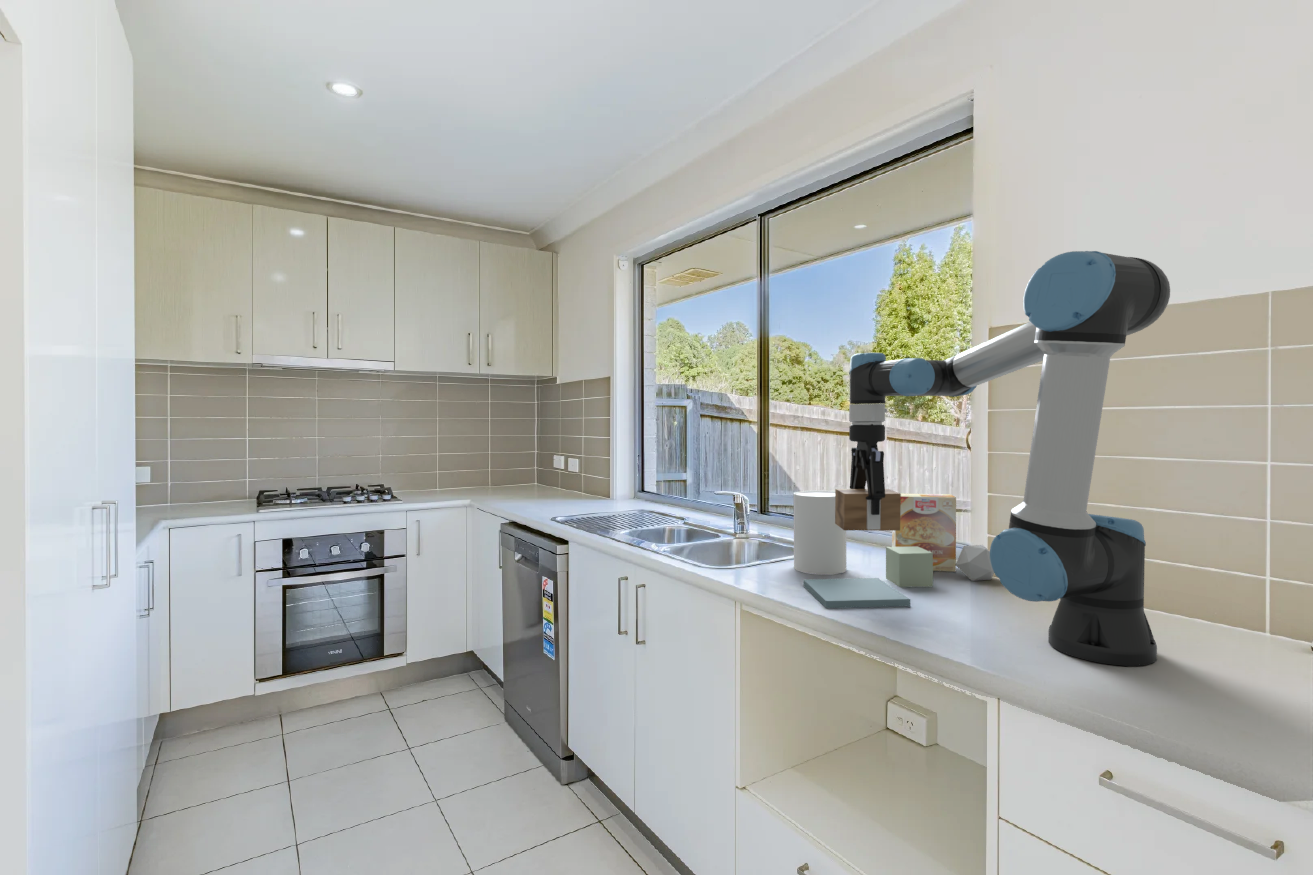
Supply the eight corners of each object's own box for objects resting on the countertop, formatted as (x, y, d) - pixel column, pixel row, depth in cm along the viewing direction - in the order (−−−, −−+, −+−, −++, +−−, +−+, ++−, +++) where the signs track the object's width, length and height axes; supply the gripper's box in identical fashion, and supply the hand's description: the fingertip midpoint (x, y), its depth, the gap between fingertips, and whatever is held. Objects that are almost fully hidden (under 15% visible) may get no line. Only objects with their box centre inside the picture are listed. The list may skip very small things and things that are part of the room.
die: (1000, 587, 150) (1010, 550, 154) (966, 569, 150) (977, 532, 154) (976, 591, 158) (986, 556, 162) (945, 574, 158) (956, 539, 162)
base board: (910, 606, 134) (910, 599, 134) (826, 608, 134) (826, 600, 134) (877, 584, 152) (877, 577, 152) (803, 585, 152) (803, 579, 152)
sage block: (932, 586, 150) (932, 553, 150) (899, 587, 150) (899, 553, 149) (917, 578, 158) (917, 546, 158) (885, 578, 158) (885, 546, 157)
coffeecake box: (895, 570, 166) (894, 495, 166) (891, 563, 173) (891, 492, 173) (956, 572, 163) (956, 496, 162) (950, 565, 170) (950, 493, 169)
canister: (836, 561, 176) (835, 490, 176) (854, 573, 163) (853, 496, 162) (788, 563, 175) (787, 491, 175) (802, 575, 162) (801, 497, 161)
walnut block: (900, 530, 137) (900, 493, 137) (844, 530, 138) (844, 493, 137) (887, 523, 145) (888, 488, 145) (835, 523, 146) (835, 488, 145)
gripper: (903, 424, 130) (902, 534, 131) (867, 422, 151) (866, 517, 152) (866, 424, 130) (865, 535, 131) (835, 422, 151) (835, 517, 152)
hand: (866, 525), depth 142 cm, fingers closed on walnut block, 8 cm apart
